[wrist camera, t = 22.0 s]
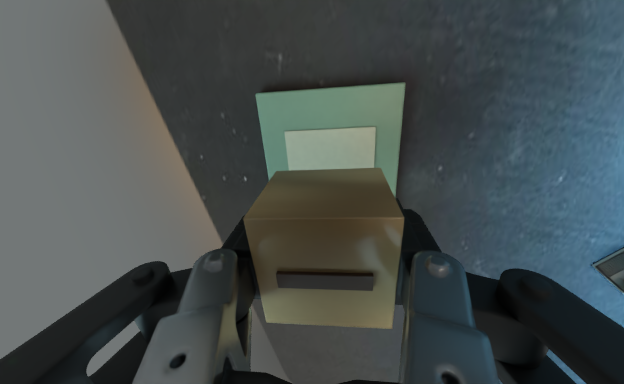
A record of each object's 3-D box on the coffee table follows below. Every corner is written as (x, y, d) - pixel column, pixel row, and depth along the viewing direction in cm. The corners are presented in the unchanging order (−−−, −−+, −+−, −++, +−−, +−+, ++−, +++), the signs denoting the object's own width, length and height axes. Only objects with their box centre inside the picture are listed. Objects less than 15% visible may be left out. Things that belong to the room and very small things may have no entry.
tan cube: (287, 251, 12) (264, 327, 9) (275, 170, 10) (240, 221, 7) (376, 252, 12) (393, 333, 8) (381, 167, 10) (406, 220, 6)
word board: (289, 292, 23) (287, 300, 22) (258, 92, 15) (254, 93, 14) (384, 295, 22) (386, 304, 21) (402, 82, 14) (406, 82, 13)
